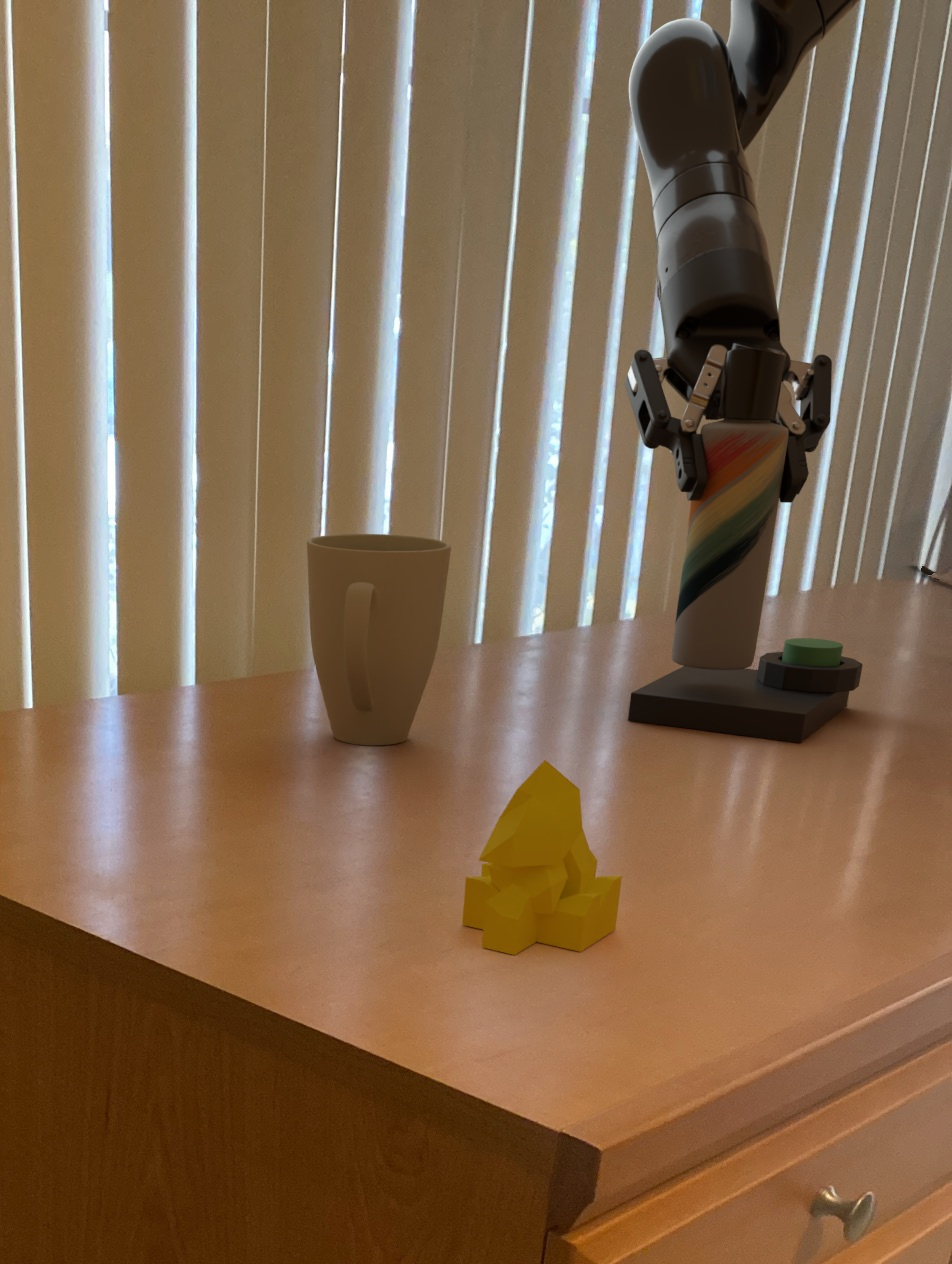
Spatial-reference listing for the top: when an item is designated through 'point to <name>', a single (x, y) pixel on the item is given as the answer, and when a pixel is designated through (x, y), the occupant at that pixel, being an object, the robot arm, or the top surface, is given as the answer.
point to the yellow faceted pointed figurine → (541, 873)
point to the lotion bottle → (733, 517)
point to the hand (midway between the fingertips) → (745, 492)
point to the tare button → (812, 652)
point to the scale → (749, 698)
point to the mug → (375, 629)
